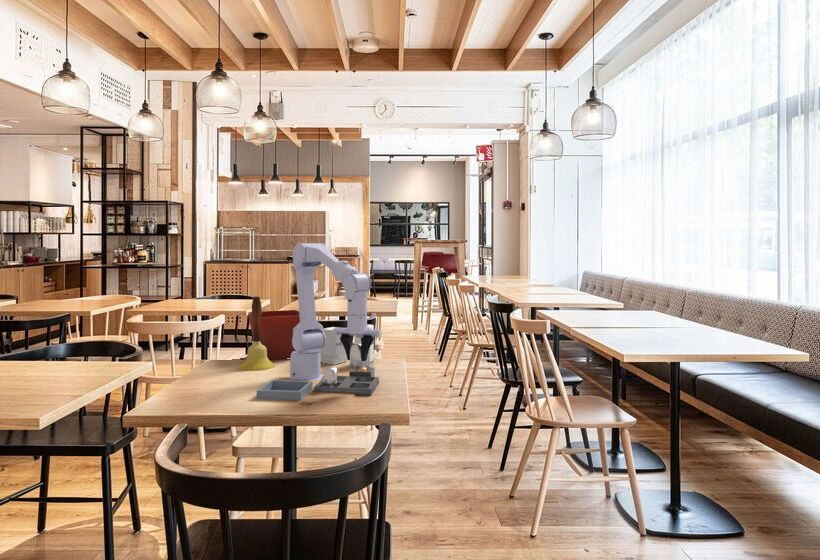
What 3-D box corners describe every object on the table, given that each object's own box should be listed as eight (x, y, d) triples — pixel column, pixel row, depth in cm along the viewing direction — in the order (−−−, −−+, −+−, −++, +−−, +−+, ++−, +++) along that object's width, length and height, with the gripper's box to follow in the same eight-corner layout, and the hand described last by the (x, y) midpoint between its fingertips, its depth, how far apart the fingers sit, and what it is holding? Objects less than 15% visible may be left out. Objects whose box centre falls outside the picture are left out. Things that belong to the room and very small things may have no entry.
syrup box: (370, 367, 215) (370, 326, 214) (354, 366, 216) (354, 326, 215) (374, 363, 220) (374, 324, 219) (358, 363, 222) (358, 323, 221)
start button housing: (349, 380, 194) (349, 371, 194) (353, 375, 201) (353, 367, 201) (370, 381, 193) (370, 372, 193) (374, 376, 200) (374, 367, 200)
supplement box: (335, 365, 217) (335, 330, 216) (319, 363, 221) (319, 328, 220) (347, 361, 224) (347, 328, 223) (332, 359, 228) (332, 326, 227)
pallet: (314, 393, 178) (314, 386, 178) (326, 381, 193) (326, 375, 193) (371, 395, 176) (371, 388, 176) (379, 383, 191) (379, 377, 191)
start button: (356, 378, 196) (356, 369, 195) (358, 375, 199) (358, 366, 199) (366, 378, 195) (365, 369, 195) (367, 376, 198) (367, 367, 198)
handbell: (278, 363, 220) (277, 295, 219) (271, 370, 208) (270, 298, 206) (244, 363, 220) (243, 295, 218) (235, 370, 208) (234, 298, 206)
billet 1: (322, 392, 179) (321, 369, 179) (325, 389, 183) (325, 366, 183) (335, 393, 179) (335, 369, 178) (338, 389, 183) (338, 366, 182)
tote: (256, 401, 170) (256, 390, 169) (271, 389, 182) (271, 380, 182) (300, 402, 168) (300, 391, 168) (312, 391, 181) (312, 381, 181)
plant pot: (248, 353, 238) (247, 311, 237) (296, 350, 245) (296, 309, 244) (256, 363, 220) (255, 317, 219) (307, 359, 228) (307, 315, 227)
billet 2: (354, 369, 175) (353, 346, 174) (347, 367, 178) (346, 343, 178) (365, 367, 177) (365, 344, 177) (358, 365, 181) (358, 342, 180)
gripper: (385, 313, 179) (384, 359, 180) (339, 311, 183) (339, 356, 184) (376, 316, 172) (376, 363, 173) (330, 314, 176) (330, 360, 177)
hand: (357, 360), depth 178 cm, fingers closed on billet 2, 4 cm apart
